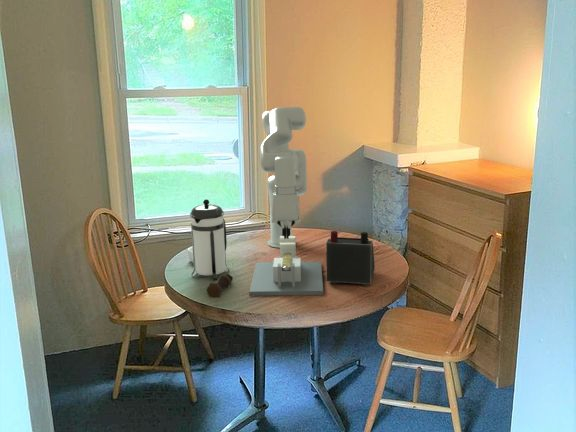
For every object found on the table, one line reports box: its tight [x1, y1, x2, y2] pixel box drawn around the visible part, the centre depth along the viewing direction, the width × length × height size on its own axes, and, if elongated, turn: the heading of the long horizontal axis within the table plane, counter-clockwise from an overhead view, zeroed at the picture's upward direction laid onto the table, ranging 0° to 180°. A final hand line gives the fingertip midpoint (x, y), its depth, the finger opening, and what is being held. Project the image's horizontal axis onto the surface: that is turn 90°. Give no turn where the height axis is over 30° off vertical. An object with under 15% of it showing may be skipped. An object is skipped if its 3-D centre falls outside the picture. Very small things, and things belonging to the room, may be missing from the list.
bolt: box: [205, 274, 234, 299], centre depth 212 cm, size 6×5×15 cm
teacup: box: [187, 246, 194, 263], centre depth 244 cm, size 10×8×5 cm
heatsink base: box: [248, 257, 324, 297], centre depth 220 cm, size 31×26×10 cm
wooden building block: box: [282, 253, 291, 271], centre depth 216 cm, size 15×3×11 cm
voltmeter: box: [325, 230, 376, 287], centre depth 218 cm, size 16×16×20 cm
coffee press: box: [189, 199, 230, 282], centre depth 225 cm, size 17×16×30 cm
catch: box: [279, 235, 297, 258], centre depth 229 cm, size 6×6×11 cm
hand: (286, 237), depth 218 cm, fingers closed
